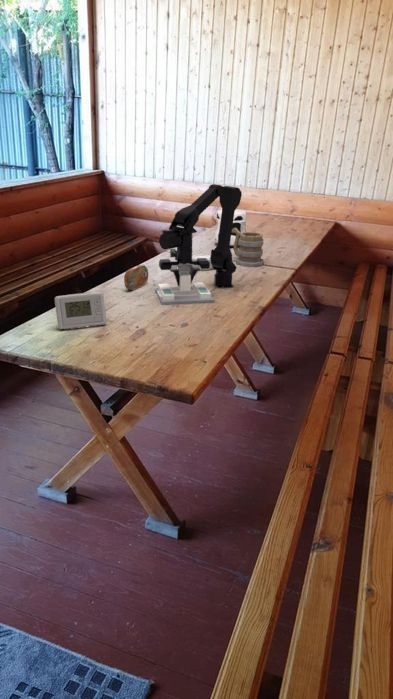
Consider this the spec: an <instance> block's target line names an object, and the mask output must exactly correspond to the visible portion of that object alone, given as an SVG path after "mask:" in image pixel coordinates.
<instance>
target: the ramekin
mask: <svg viewBox="0 0 393 699" xmlns="http://www.w3.org/2000/svg"><path fill="white" fill-rule="evenodd" d="M210 257H211V254H200V253H198V254H192V261H197V258H206V259H207V260H208V261H209V262H210V268H209V269H202V268H201V267H199V269H200V271H202V270H204V271H211V270H212V269H213V267H212V264H211V259H210Z"/></svg>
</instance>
